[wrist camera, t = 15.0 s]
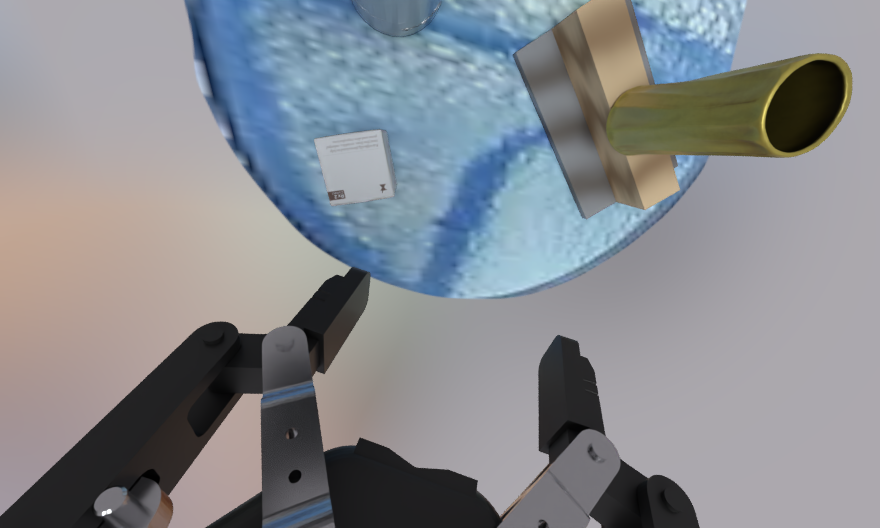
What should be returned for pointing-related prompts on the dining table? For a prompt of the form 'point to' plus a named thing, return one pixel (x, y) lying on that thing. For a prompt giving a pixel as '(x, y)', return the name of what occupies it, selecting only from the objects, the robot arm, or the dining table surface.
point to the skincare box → (357, 166)
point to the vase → (736, 111)
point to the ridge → (594, 105)
